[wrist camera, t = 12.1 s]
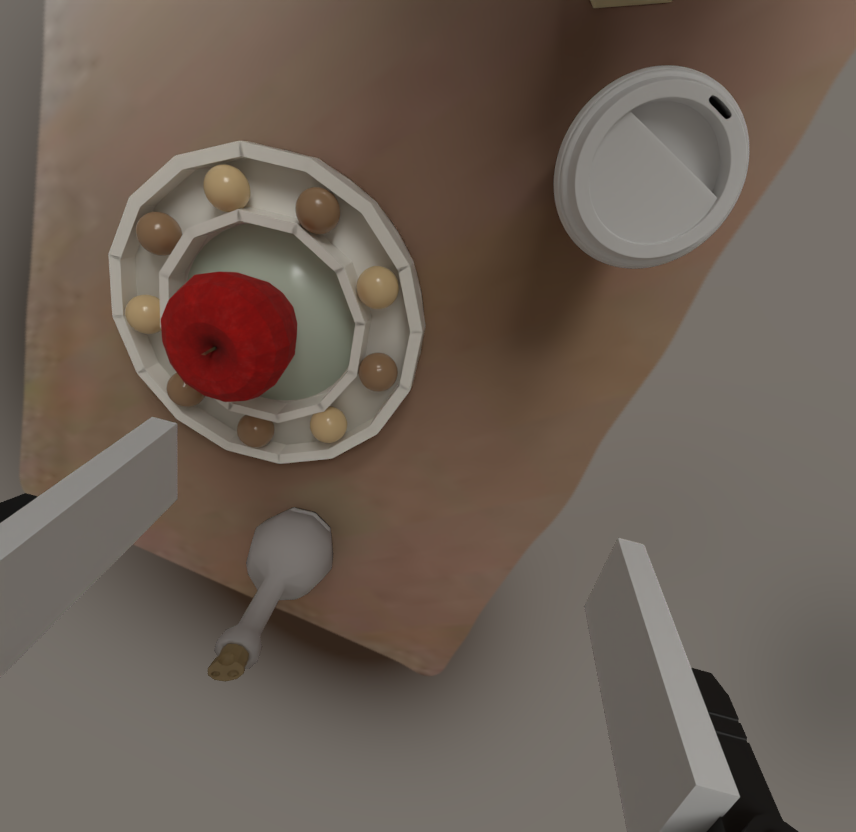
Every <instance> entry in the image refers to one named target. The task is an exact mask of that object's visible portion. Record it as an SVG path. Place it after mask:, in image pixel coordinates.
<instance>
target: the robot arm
mask: <svg viewBox="0 0 856 832" xmlns="http://www.w3.org/2000/svg"><path fill="white" fill-rule="evenodd" d="M176 500H177V423H174V422H170V421H166V420H162V419H159V418H155V417H151V418H150V419H148V420H147V421H145V422H144V423H143V424H141V425H140V426H138V427H137V428H135V429H134V430H133V431H131V432H130V433H128V434H127V435H125V436H124V437H123V438H121V439H120V440H118V441H117V442H115V443H114V444H113V445H111V446H110V447H108V448H107V449H105V450H104V451H103V452H101V453H100V454H98V455H97V456H95V457H94V458H93V459H91V460H90V461H88V462H87V463H85V464H84V465H83V466H81V467H80V468H78V469H77V470H75V471H74V472H73V473H71V474H70V475H68V476H67V477H65V478H64V479H63V480H61V481H60V482H58V483H57V484H55V485H54V486H53V487H51V488H50V489H48V490H47V491H45V492H44V493H43V494H41V495H40V496H34V495H30V494H26V493H25V494H22V495H20V496H17V497H14V498H12V499H9V500H6V501H4V502H1V503H0V678H1V676H2V675H4V673H5V672H7V671H8V669H10V668H11V667H12V665H13V664H14V663H15V662H16V661H17V660H18V659H19V658H20V657H21V656H22V655H23V654H24V653H25V652H26V651H27V650H28V649H29V648H30V647H31V646H32V645H33V644H34V643H35V642H36V641H37V640H38V639H39V638H40V637H41V636H42V635H43V634H44V633H45V632H46V631H47V630H48V629H49V628H50V627H51V626H52V625H53V624H54V623H55V622H56V621H57V620H58V619H59V618H60V617H61V616H62V615H63V614H64V613H65V612H66V611H67V610H68V609H69V608H70V607H71V606H72V605H73V604H74V603H75V602H76V601H77V600H78V599H79V598H80V597H81V596H82V595H83V594H84V593H85V592H86V591H87V590H88V589H89V588H90V587H91V586H92V585H93V584H94V583H95V582H96V581H97V580H98V579H99V578H100V576H102V575H103V574H104V573H105V572H106V571H107V570H108V569H109V568H110V567H111V566H112V565H113V564H114V563H115V562H116V561H117V559H119V558H120V556H122V554H124V552H125V551H126V550H127V549H128V548H129V547H130V546H131V545H132V544H133V543H134V542H135V541H136V540H137V539H138V538H139V537H140V536H141V535H142V534H143V533H144V532H145V531H146V530H147V529H148V528H149V527H150V526H151V525H152V524H153V523H154V522H155V521H156V520H157V519H158V518H159V517H160V516H161V515H162V514H163V513H164V512H165V511H166V510H167V509H168V508H169V507H170V506H171V505H172V504H173V503H174V502H175V501H176ZM584 607H585V612H586V618H587V623H588V628H589V634H590V639H591V644H592V649H593V654H594V660H595V665H596V670H597V676H598V681H599V686H600V692H601V697H602V702H603V707H604V713H605V718H606V723H607V729H608V734H609V739H610V744H611V750H612V755H613V760H614V766H615V771H616V776H617V781H618V787H619V791H620V797H621V802H622V808H623V813H624V818H625V824H626V828H627V832H798V831H797V830H795V829H794V828H793V827H791V826H790V825H789V824H787V823H786V822H784V821H783V819H782V817H781V816H780V813H779V811H778V809H777V806H776V804H775V802H774V800H773V797H772V795H771V792H770V790H769V788H768V785H767V783H766V781H765V779H764V776H763V774H762V772H761V770H760V767H759V765H758V762H757V760H756V758H755V755H754V753H753V751H752V748H751V746H750V744H749V743H747V741H746V740H747V737H746V735H745V732H744V730H743V728H742V725H741V723H738V716H737V714H736V711H735V709H734V707H733V705H732V702H731V700H730V698H729V695H728V694H727V693H726V692H725V691H724V689H723V688H722V686H721V685H720V684H719V683H718V681H717V680H716V679H715V677H714V676H713V675H712V674H711V673H709V672H705V671H701V670H698V669H694V668H691V666H690V664H689V661H688V658H687V656H686V654H685V651H684V648H683V646H682V643H681V640H680V638H679V635H678V632H677V630H676V627H675V625H674V622H673V619H672V616H671V614H670V611H669V609H668V606H667V603H666V601H665V598H664V595H663V593H662V590H661V588H660V585H659V582H658V580H657V577H656V574H655V572H654V569H653V567H652V564H651V561H650V559H649V556H648V554H647V551H646V548H645V546H644V544H640V543H636V542H633V541H629V540H625V539H621V538H618V539H617V540H616V542H615V544H614V547H613V549H612V551H611V553H610V555H609V557H608V559H607V561H606V563H605V565H604V567H603V569H602V571H601V573H600V575H599V577H598V579H597V581H596V583H595V585H594V588H593V589H592V591H591V593H590V596H589V598H588V600H587V602H586V604H585V606H584Z"/></svg>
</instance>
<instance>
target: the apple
mask: <svg viewBox="0 0 856 832" xmlns="http://www.w3.org/2000/svg"><path fill="white" fill-rule="evenodd" d="M161 333H162V342H163V345H164V348H165V351H166V354H167V356H168V359H169V362H170V364H171V365H172V367H173V368H174V369H175V371H176V372H177V373H178V375H179V376H180V378H181V379H182V380H183V382H184V383H186V384H187V385H189V386H190V387H192V388H193V389H195V390H196V391H198V392H199V393H201V394H202V395H204V396H207V397H210V398H214V399H217V400H220V401H223V402H235V401H247V400H250V399H253V398H256V397H259V396H260V395H262V394H263V393H265V392H266V391H267V390H269V389H270V388H272V387H273V386H274V385H276V383H277V382H278V380H279V379H280V377H281V376H282V374H283V373H284V371H285V370H286V368H287V366H288V365H289V363H290V362H291V360H292V358H293V357H294V355H295V348H296V339H297V320H296V316H295V312H294V307H293V306H292V304H291V303H290V302H289V300H288V299H287V298H286V296H285V295H284V294H283V293H282V292H281V291H280V290H278V289H277V288H276V287H274V286H273V285H272V284H271V283H269V282H267V281H263V280H260V279H257V278H254V277H251V276H248V275H244V274H241V273H238V272H221V271H219V272H211V273H204V274H196V275H194V276H193V277H192V278H190V279H189V280H188V281H187V282H186V283H185V284H184V285H183V286H182V287H181V288H180V289H179V290H178V291H177V292H176V293H175V294H174V295H173V296H172V297H171V298H170V299H169V300H168V302H167V305H166V307H165V310H164V312H163V315H162V317H161Z"/></svg>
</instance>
